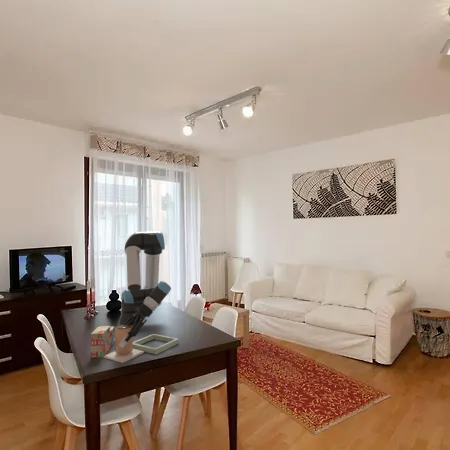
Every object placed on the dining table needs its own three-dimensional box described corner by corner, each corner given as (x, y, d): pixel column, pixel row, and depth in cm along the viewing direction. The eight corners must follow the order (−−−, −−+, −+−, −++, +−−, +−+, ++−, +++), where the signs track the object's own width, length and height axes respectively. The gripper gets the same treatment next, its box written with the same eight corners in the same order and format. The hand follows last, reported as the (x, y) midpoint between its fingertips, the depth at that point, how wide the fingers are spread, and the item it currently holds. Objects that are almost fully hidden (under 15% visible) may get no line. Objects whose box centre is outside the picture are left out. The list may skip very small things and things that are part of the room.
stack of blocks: (103, 343, 184) (103, 321, 184) (115, 342, 184) (115, 320, 185) (90, 358, 163) (90, 333, 163) (103, 357, 163) (103, 332, 163)
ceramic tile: (104, 357, 162) (104, 355, 162) (125, 348, 175) (125, 346, 175) (122, 362, 156) (122, 360, 156) (143, 353, 168) (143, 351, 168)
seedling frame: (129, 348, 176) (129, 343, 176) (153, 338, 191) (153, 333, 192) (155, 354, 166) (155, 349, 166) (178, 343, 182) (178, 338, 182)
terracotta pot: (113, 350, 166) (113, 326, 167) (129, 346, 171) (129, 323, 171) (118, 355, 160) (118, 330, 160) (135, 351, 164) (135, 327, 165)
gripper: (135, 299, 180) (106, 334, 171) (151, 306, 163) (118, 345, 153) (145, 307, 183) (116, 342, 174) (161, 315, 166) (130, 354, 156)
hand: (117, 343), depth 164 cm, fingers closed on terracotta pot, 8 cm apart
